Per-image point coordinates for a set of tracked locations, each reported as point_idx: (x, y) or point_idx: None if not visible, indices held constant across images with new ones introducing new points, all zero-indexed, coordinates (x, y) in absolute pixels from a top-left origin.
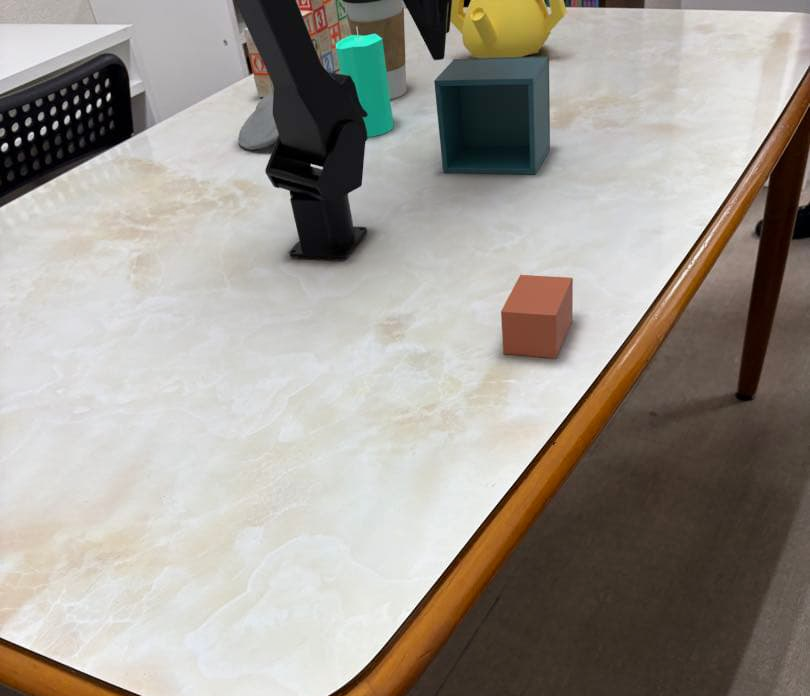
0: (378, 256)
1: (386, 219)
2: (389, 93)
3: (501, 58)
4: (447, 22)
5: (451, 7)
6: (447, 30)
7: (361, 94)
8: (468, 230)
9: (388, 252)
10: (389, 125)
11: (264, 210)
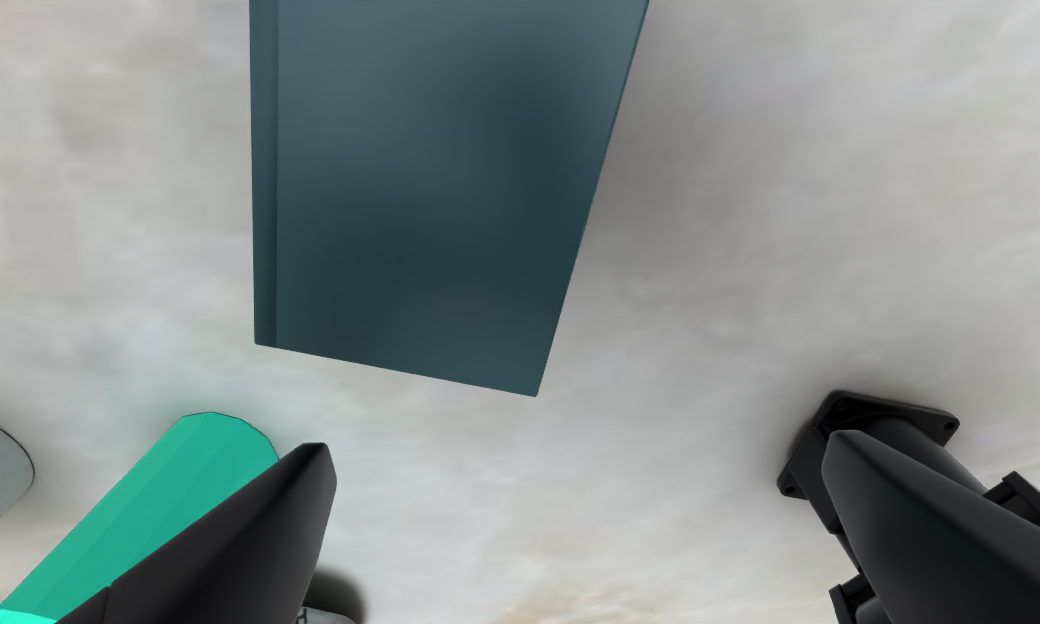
0: (962, 352)
1: (774, 360)
2: (4, 453)
3: (269, 97)
4: (303, 483)
5: (230, 524)
6: (323, 454)
7: None
8: (928, 154)
9: (953, 334)
10: (227, 425)
11: (643, 575)
